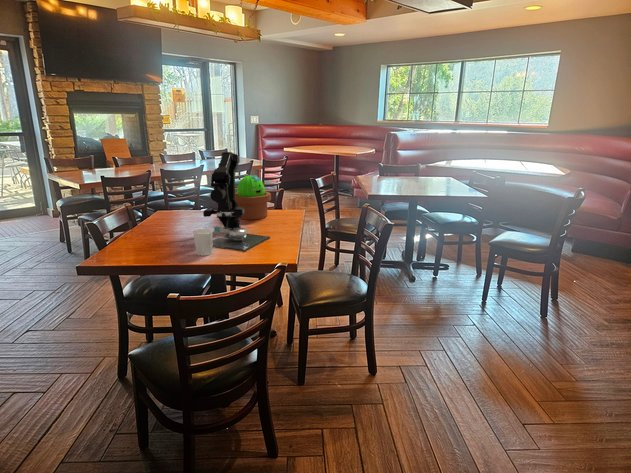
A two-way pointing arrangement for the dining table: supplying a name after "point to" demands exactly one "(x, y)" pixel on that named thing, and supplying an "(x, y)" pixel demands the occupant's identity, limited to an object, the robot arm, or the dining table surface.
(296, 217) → the dining table surface
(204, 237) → the white cup
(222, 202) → the robot arm
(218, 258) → the dining table surface
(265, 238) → the lock base
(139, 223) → the dining table surface
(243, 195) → the potted cactus
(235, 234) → the teal-tipped lever
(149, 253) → the dining table surface
